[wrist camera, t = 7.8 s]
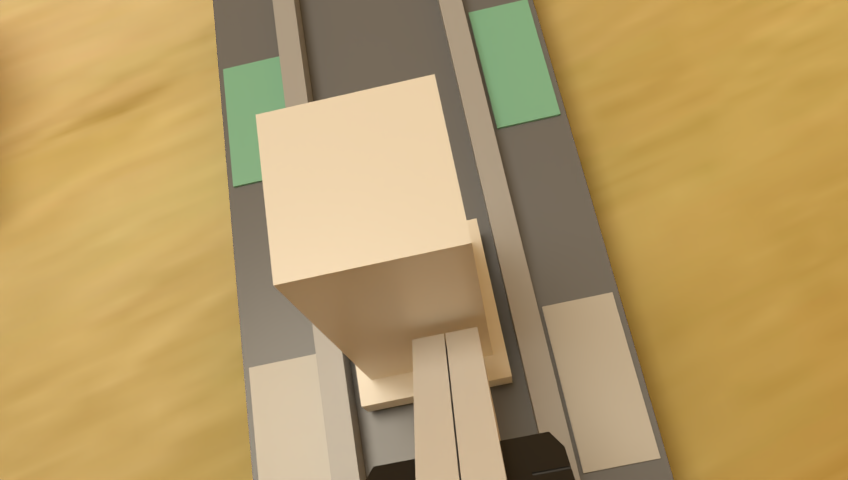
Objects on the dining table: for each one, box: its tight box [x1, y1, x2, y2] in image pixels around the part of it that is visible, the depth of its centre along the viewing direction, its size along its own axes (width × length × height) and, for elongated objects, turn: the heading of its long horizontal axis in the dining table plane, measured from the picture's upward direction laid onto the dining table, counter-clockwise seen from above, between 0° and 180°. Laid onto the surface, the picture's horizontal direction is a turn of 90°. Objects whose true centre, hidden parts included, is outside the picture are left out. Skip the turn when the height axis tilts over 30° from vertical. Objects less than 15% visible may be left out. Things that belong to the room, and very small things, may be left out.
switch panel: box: [213, 0, 674, 480], centre depth 26 cm, size 12×24×4 cm, turn 10°
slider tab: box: [256, 74, 513, 412], centre depth 18 cm, size 4×5×10 cm
